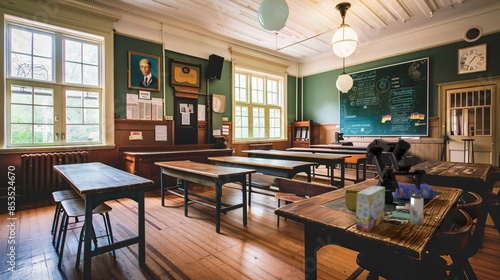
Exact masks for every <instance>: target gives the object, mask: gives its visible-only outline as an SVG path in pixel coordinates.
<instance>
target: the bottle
mask: <svg viewBox="0 0 500 280" xmlns="http://www.w3.org/2000/svg"><path fill="white" fill-rule="evenodd" d="M409 201H410V203H409V204H410V212H409V214H410V220H409V223H410V224H412V225H415V226H423V224H424V199H423V198H421V194H412V197H410V199H409Z"/></svg>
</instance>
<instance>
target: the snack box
mask: <svg viewBox="0 0 500 280" xmlns="http://www.w3.org/2000/svg"><path fill="white" fill-rule="evenodd" d="M359 191H360V192H358V193H357V211H355V212H356V217H355V222H356V223H355V230H358V231H363V232H365V233H369V232H371V231H372V230H373V229H374V228H376V226H378V225H379V224H381V223H382V222H383V221H384V220H385V187H381V186H377V185H372V186H370V187H367V188H364V189H363V190H359Z"/></svg>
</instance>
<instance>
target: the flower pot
mask: <svg viewBox="0 0 500 280" xmlns="http://www.w3.org/2000/svg"><path fill="white" fill-rule="evenodd" d="M360 191H361V190H356V189H355V190H353V189H345V190H344V194H343V195H344V202H345V206H346V208H347V210H348V211H354V212H357V193H358V192H360Z"/></svg>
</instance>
